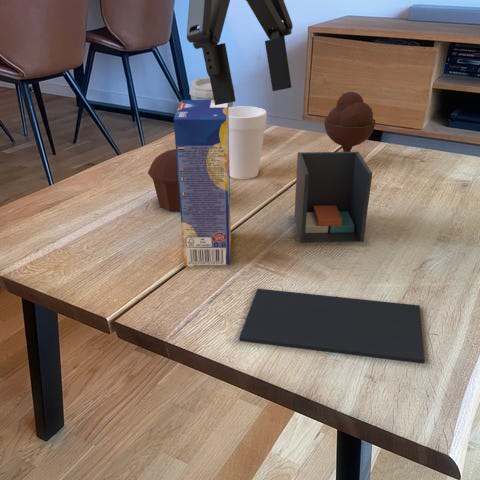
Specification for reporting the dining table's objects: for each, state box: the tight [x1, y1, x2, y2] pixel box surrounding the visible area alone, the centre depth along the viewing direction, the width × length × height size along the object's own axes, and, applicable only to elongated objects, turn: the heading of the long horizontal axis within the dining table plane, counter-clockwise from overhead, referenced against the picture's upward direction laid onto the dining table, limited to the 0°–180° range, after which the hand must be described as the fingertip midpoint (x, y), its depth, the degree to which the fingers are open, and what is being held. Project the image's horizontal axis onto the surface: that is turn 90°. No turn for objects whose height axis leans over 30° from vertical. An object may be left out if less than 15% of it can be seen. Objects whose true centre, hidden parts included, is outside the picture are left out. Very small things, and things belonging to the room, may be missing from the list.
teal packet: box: [328, 212, 355, 233], centre depth 95 cm, size 6×4×1 cm, turn 1°
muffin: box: [147, 148, 181, 213], centre depth 102 cm, size 12×11×10 cm
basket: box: [294, 151, 373, 244], centre depth 91 cm, size 11×10×12 cm
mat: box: [238, 288, 426, 364], centre depth 71 cm, size 22×12×1 cm, turn 78°
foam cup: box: [228, 105, 268, 180], centre depth 115 cm, size 10×9×13 cm
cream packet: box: [305, 212, 328, 233], centre depth 95 cm, size 6×4×1 cm, turn 1°
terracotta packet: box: [313, 205, 342, 226], centre depth 94 cm, size 6×4×1 cm, turn 1°
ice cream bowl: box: [323, 91, 376, 152], centre depth 119 cm, size 11×11×15 cm
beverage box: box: [173, 99, 232, 268], centre depth 83 cm, size 7×11×22 cm, turn 0°
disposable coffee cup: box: [189, 76, 236, 108], centre depth 131 cm, size 11×11×15 cm
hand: (255, 96), depth 73 cm, fingers open, 13 cm apart
